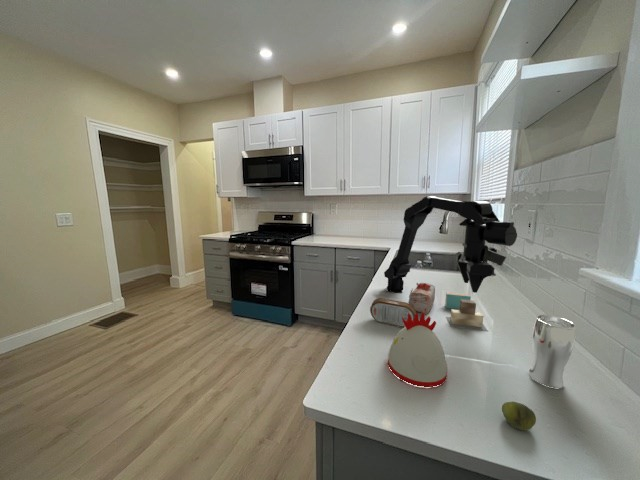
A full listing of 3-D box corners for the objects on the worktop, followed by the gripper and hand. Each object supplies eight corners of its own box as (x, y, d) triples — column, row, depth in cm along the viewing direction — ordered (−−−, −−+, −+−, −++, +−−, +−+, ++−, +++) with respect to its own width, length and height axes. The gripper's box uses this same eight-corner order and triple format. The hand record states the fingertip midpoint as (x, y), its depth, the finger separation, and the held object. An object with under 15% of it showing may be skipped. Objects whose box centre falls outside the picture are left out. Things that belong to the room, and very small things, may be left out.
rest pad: (449, 327, 82) (450, 326, 82) (445, 317, 89) (445, 316, 89) (488, 332, 79) (488, 331, 79) (480, 322, 86) (480, 320, 86)
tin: (415, 326, 83) (417, 303, 81) (415, 331, 80) (416, 307, 78) (371, 317, 89) (371, 295, 88) (368, 321, 86) (369, 298, 85)
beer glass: (557, 395, 54) (569, 332, 51) (520, 375, 60) (529, 317, 58) (571, 384, 57) (583, 324, 55) (534, 366, 63) (543, 311, 61)
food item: (429, 317, 89) (431, 291, 88) (406, 312, 93) (408, 287, 92) (435, 303, 101) (437, 280, 99) (414, 299, 105) (416, 277, 103)
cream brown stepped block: (451, 323, 84) (454, 301, 83) (450, 320, 86) (452, 298, 85) (482, 327, 81) (484, 304, 80) (479, 323, 84) (482, 301, 82)
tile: (445, 308, 96) (447, 294, 95) (444, 306, 98) (446, 292, 97) (469, 311, 94) (470, 296, 93) (467, 309, 96) (469, 294, 95)
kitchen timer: (382, 350, 70) (385, 300, 67) (432, 351, 70) (436, 301, 67) (396, 388, 56) (399, 327, 54) (457, 389, 56) (464, 328, 53)
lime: (496, 416, 49) (499, 394, 48) (519, 415, 49) (523, 393, 48) (515, 438, 45) (518, 414, 44) (540, 436, 45) (544, 412, 44)
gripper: (518, 247, 68) (511, 301, 71) (492, 237, 86) (487, 280, 89) (473, 245, 71) (468, 297, 74) (456, 236, 89) (453, 278, 92)
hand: (470, 287), depth 82 cm, fingers open, 9 cm apart
